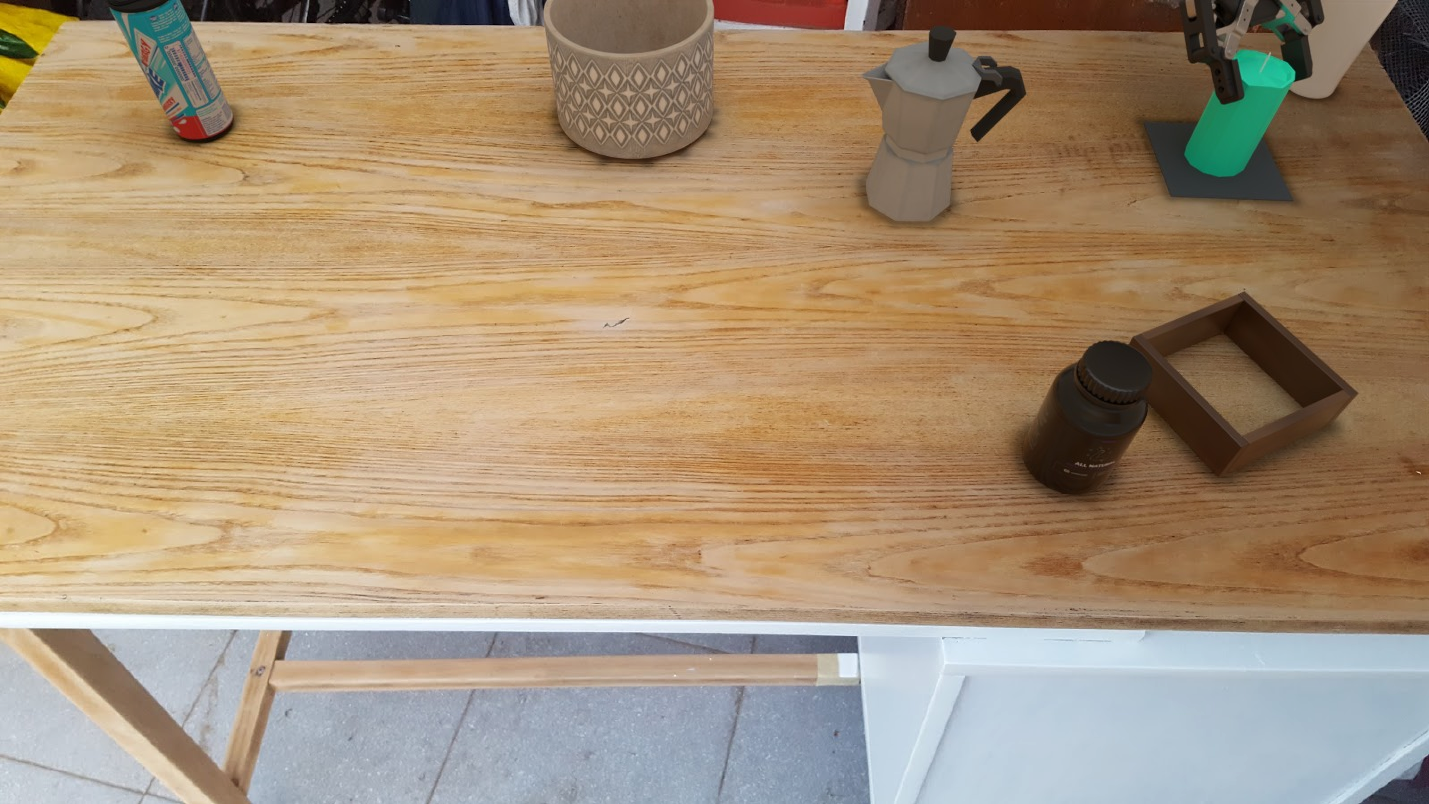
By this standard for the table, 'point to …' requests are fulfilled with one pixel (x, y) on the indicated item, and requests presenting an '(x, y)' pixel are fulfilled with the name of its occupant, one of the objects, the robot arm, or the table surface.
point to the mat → (1190, 182)
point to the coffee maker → (929, 121)
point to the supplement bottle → (1089, 418)
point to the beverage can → (175, 66)
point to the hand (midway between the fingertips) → (1267, 91)
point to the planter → (632, 73)
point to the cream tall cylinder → (1340, 42)
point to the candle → (1240, 116)
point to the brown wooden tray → (1271, 352)
